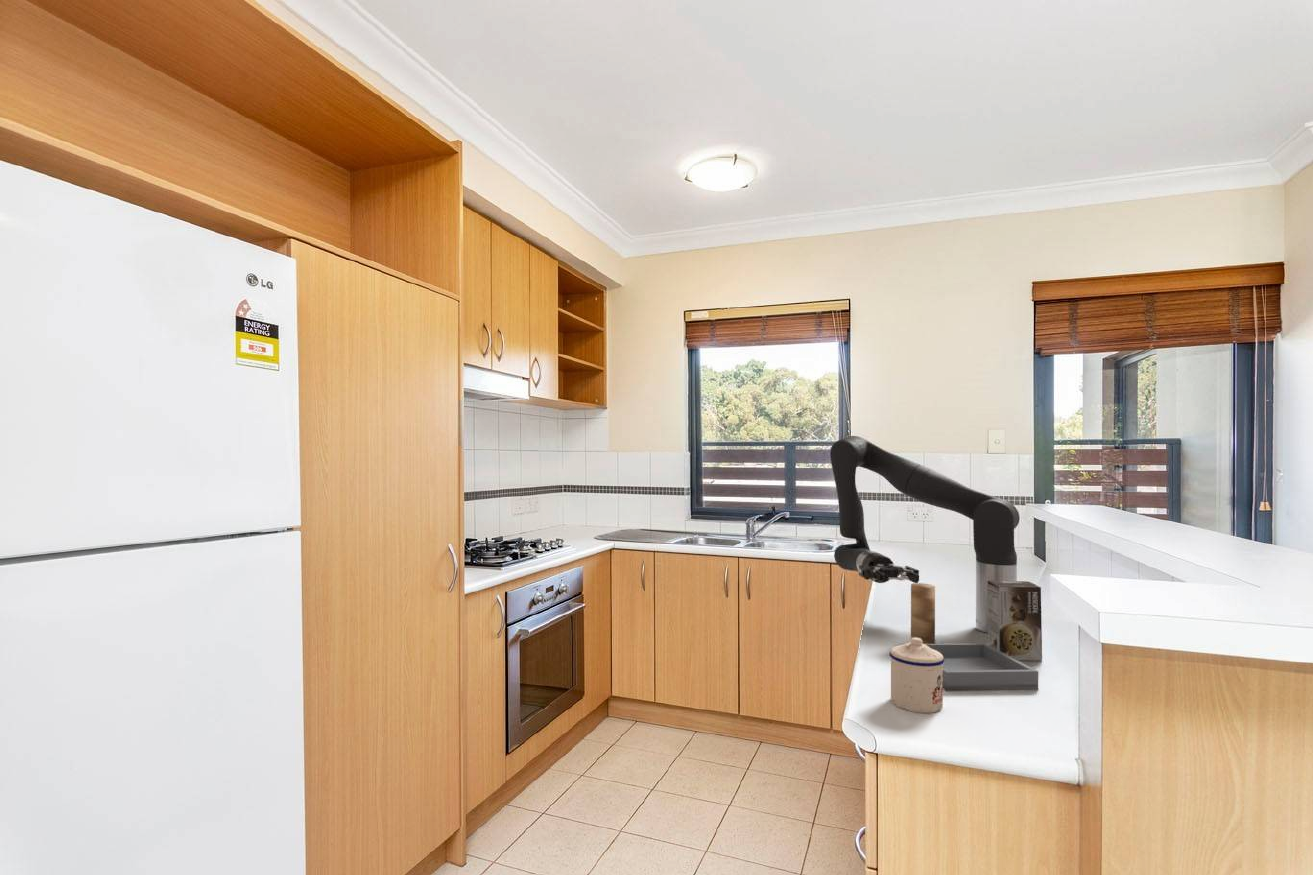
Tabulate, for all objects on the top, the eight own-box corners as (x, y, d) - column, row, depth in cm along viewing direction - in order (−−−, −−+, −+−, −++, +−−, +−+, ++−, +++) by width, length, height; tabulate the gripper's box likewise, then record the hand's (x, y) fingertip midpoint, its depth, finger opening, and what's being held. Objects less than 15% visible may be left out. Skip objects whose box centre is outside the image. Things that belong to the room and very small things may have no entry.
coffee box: (1029, 652, 147) (1028, 580, 147) (1043, 661, 140) (1042, 586, 140) (986, 650, 147) (986, 579, 148) (998, 659, 141) (998, 585, 141)
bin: (984, 659, 141) (984, 643, 141) (1038, 689, 123) (1038, 671, 123) (904, 660, 140) (904, 643, 140) (946, 690, 122) (946, 672, 122)
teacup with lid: (945, 717, 110) (945, 648, 110) (888, 709, 113) (888, 642, 113) (942, 693, 121) (942, 630, 121) (890, 686, 124) (890, 625, 125)
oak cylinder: (928, 642, 153) (928, 583, 154) (939, 649, 148) (939, 587, 149) (906, 642, 153) (907, 583, 153) (917, 649, 148) (917, 587, 148)
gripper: (849, 552, 178) (873, 563, 162) (900, 552, 179) (928, 564, 163) (848, 579, 178) (872, 593, 162) (899, 580, 179) (927, 593, 163)
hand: (900, 578), depth 162 cm, fingers open, 8 cm apart
